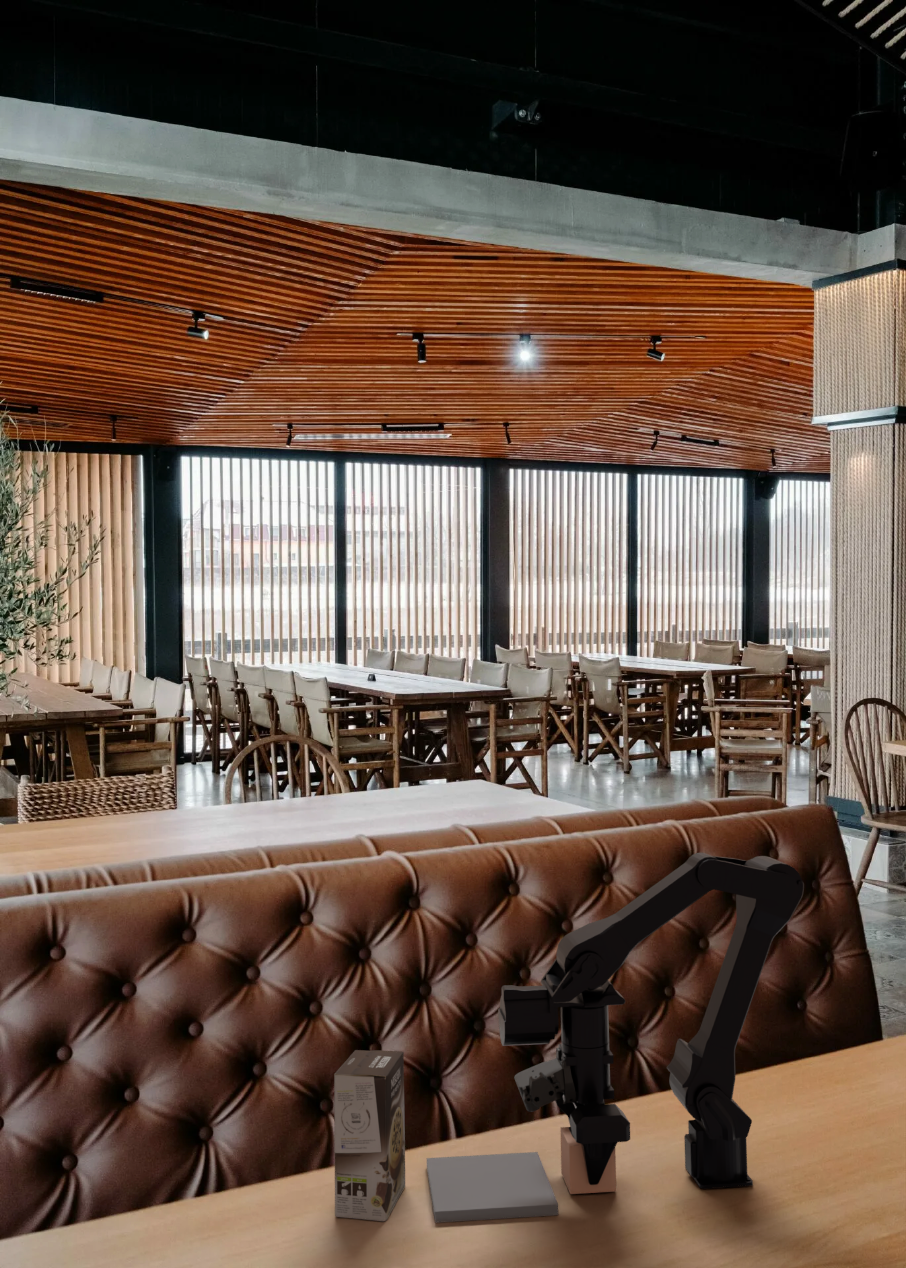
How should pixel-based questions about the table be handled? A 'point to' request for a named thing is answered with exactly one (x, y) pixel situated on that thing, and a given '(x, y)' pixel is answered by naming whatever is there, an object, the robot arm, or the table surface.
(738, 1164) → the robot arm
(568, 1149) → the terracotta block
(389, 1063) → the coffee box
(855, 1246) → the table surface
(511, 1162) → the slate board
